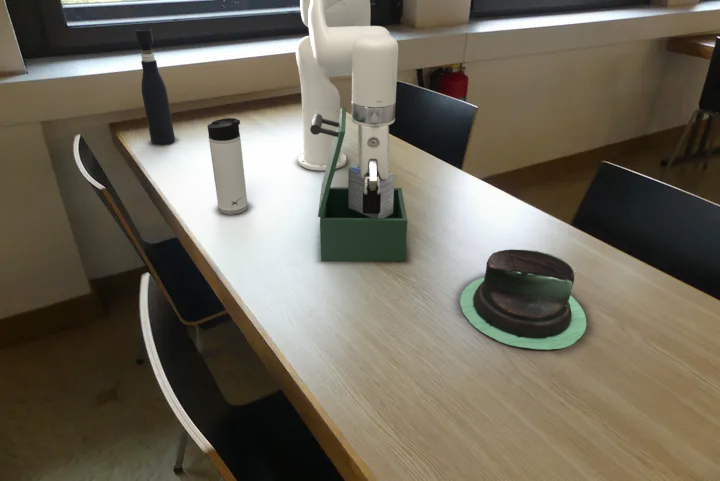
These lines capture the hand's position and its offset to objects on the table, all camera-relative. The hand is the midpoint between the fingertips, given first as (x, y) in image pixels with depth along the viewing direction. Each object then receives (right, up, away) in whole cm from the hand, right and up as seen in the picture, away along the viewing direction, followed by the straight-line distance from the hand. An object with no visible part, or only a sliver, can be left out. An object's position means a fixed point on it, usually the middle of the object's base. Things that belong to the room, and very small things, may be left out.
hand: (370, 200), depth 101 cm
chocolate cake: (+25, -19, -13) cm, 34 cm away
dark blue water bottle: (-58, +21, +51) cm, 80 cm away
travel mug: (-30, -1, +16) cm, 34 cm away
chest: (-2, -8, +4) cm, 9 cm away
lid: (-7, +7, -4) cm, 10 cm away
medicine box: (0, -2, +1) cm, 3 cm away
